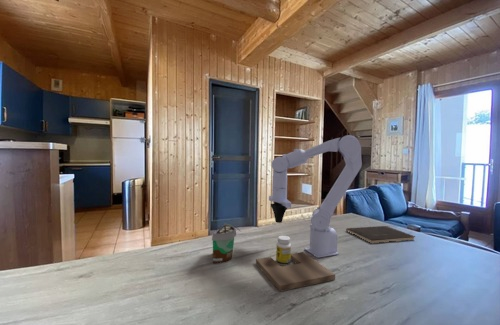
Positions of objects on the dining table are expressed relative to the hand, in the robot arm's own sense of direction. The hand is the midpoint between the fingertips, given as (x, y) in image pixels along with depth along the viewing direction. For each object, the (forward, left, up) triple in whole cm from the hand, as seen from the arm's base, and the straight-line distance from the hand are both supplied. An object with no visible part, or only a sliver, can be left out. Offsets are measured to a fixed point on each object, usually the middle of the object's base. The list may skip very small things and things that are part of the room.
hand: (278, 222), depth 88 cm
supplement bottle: (+5, +13, -10) cm, 17 cm away
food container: (+22, +4, -10) cm, 24 cm away
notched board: (+5, +19, -9) cm, 22 cm away
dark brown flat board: (-51, +3, -10) cm, 52 cm away
